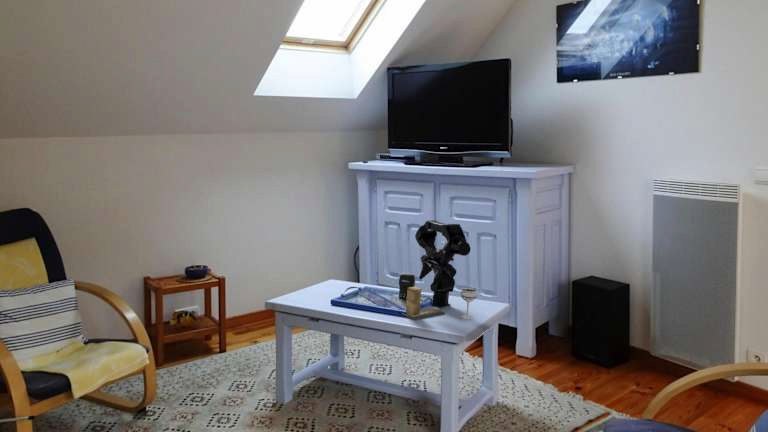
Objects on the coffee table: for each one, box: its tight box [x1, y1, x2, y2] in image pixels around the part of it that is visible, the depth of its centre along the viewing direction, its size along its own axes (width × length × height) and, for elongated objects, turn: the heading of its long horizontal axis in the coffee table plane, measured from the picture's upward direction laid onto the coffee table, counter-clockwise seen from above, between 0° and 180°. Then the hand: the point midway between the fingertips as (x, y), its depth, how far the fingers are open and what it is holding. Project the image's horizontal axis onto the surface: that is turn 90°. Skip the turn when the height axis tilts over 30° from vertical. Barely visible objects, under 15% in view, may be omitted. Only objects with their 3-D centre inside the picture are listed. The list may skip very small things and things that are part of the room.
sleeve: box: [405, 286, 422, 316], centre depth 274 cm, size 4×4×11 cm
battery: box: [398, 272, 416, 300], centre depth 297 cm, size 7×4×11 cm, turn 70°
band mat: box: [401, 305, 446, 321], centre depth 279 cm, size 17×11×2 cm, turn 129°
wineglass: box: [460, 286, 478, 320], centre depth 277 cm, size 7×7×12 cm
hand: (426, 281), depth 278 cm, fingers open, 9 cm apart
